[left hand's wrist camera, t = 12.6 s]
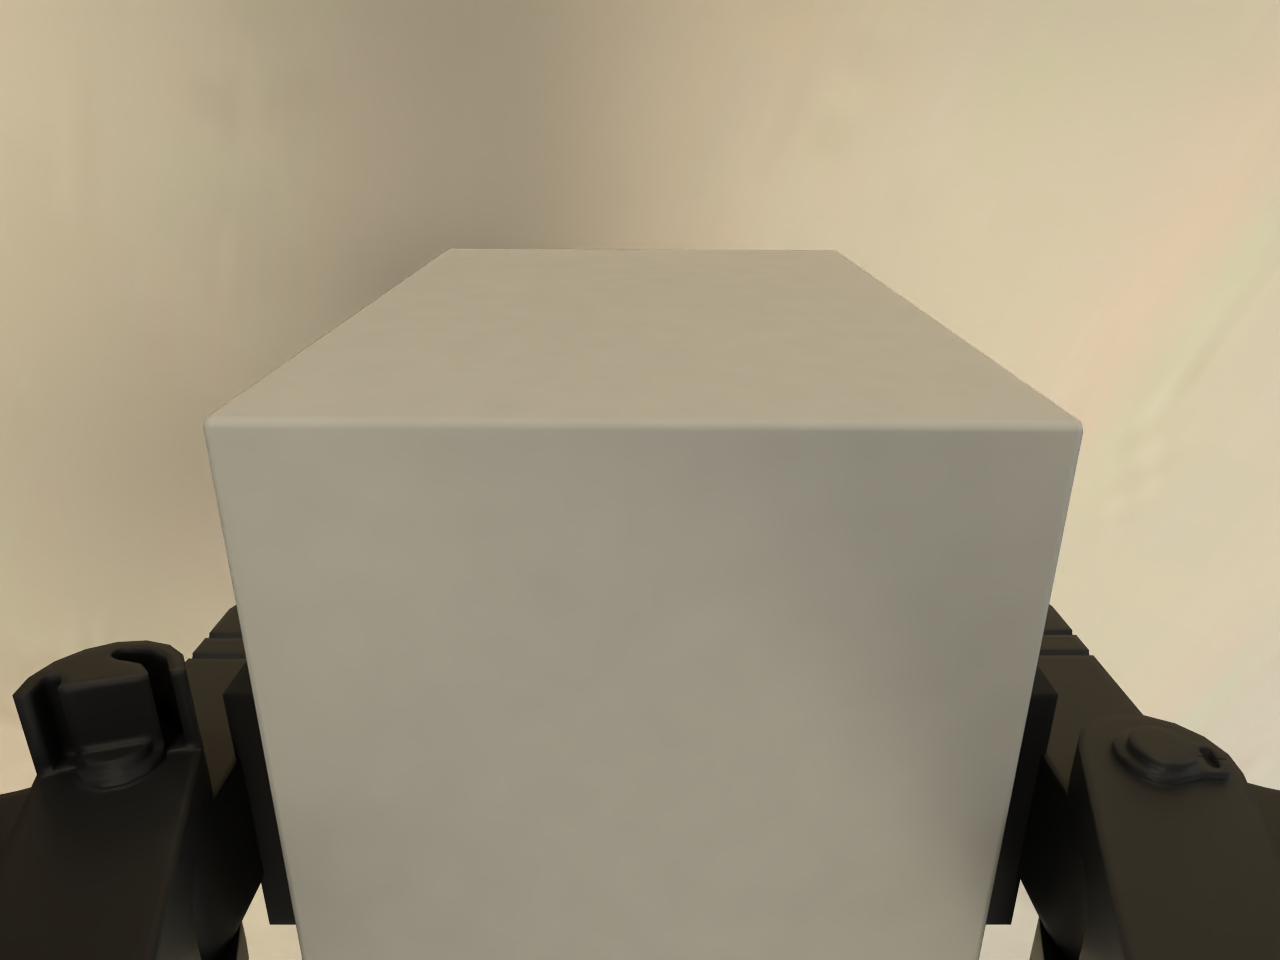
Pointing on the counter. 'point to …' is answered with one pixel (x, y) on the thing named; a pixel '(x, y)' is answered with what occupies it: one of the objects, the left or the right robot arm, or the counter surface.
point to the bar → (641, 610)
